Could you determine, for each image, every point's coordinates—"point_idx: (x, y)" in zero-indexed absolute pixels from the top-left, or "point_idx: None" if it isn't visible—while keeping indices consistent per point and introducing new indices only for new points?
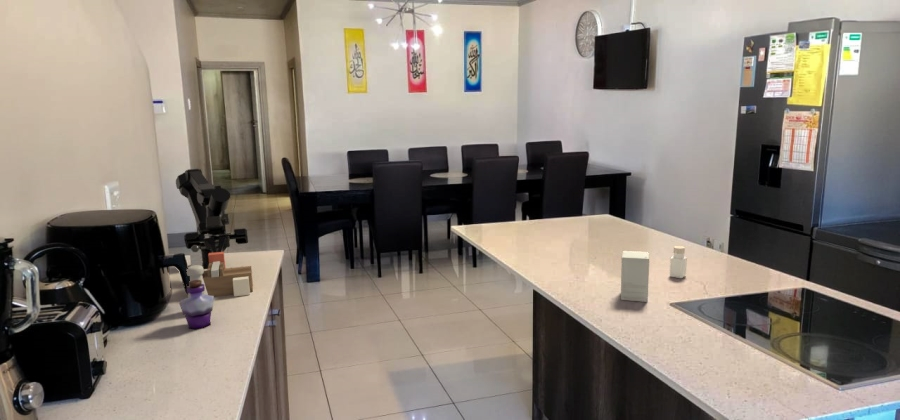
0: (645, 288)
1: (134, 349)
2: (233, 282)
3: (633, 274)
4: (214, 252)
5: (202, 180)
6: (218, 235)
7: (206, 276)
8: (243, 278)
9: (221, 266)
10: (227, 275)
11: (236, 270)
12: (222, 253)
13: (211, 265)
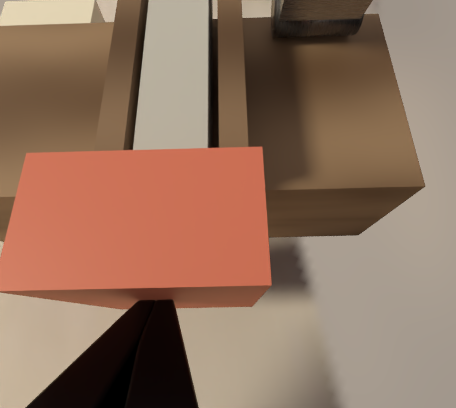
0: None
1: None
2: (97, 11)
3: None
4: (173, 381)
5: None
6: None
7: (251, 40)
8: (30, 11)
9: (126, 19)
10: (111, 23)
11: (34, 107)
12: (38, 170)
13: (218, 96)
